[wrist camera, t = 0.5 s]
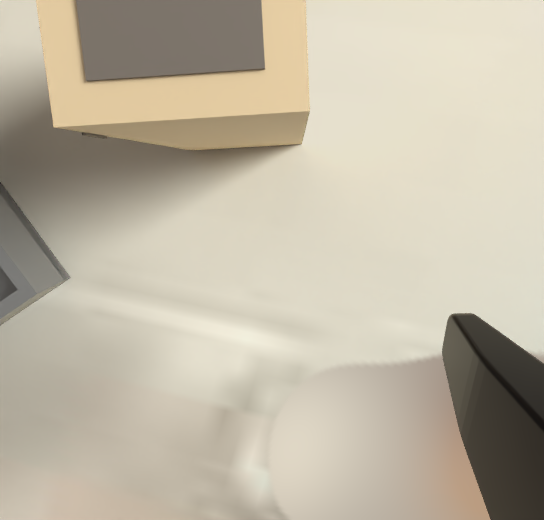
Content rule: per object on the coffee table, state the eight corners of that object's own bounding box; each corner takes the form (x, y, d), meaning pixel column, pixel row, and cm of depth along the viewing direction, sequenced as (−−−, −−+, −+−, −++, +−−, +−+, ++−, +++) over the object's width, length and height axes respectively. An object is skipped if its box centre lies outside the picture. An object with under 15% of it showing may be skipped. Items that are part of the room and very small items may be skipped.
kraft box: (301, 145, 21) (309, 113, 9) (190, 151, 22) (47, 129, 9) (296, 22, 20) (297, -204, 8) (179, 31, 21) (5, -174, 8)
